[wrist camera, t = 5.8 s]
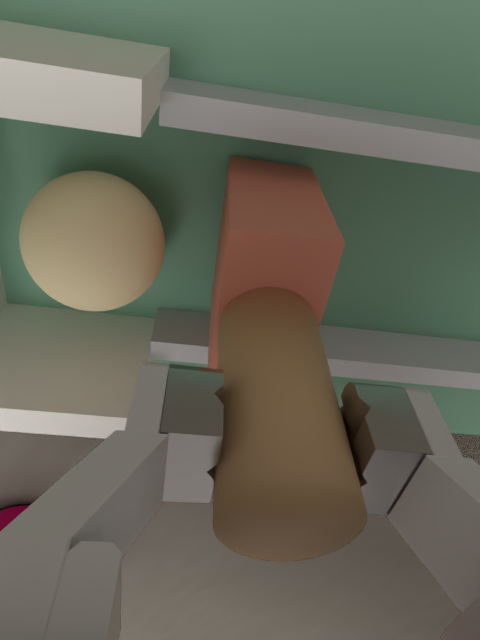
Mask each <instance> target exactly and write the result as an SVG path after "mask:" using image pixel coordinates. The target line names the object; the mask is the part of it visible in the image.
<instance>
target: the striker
mask: <svg viewBox="0 0 480 640" xmlns="http://www.w3.org/2000/svg"><path fill="white" fill-rule="evenodd" d="M344 246H345V241H344V239H343V236H342V234H341V232H340V230H339V228H338V225H337V223H336V221H335V219H334V216H333V214H332V212H331V210H330V208H329V205H328V203H327V201H326V199H325V197H324V194H323V192H322V190H321V188H320V186H319V183H318V181H317V179H316V177H315V175H314V172H313V170H312V168H311V167H305V166H298V165H291V164H284V163H277V162H270V161H263V160H255V159H248V158H241V157H234V156H229V163H228V170H227V178H226V186H225V194H224V201H223V209H222V217H221V225H220V232H219V240H218V248H217V256H216V263H215V271H214V279H213V286H212V294H211V311H210V330H209V349H208V368H213V369H222V370H223V372H224V386H223V392H222V397H221V402H222V403H223V404H224V416H223V440H222V446H221V451H220V456H219V462H218V464H217V465H216V466H215V481H214V495H213V530H214V532H215V535H216V536H217V538H218V539H219V540H220V541H221V542H222V543H223V544H224V545H225V546H226V547H228V548H229V549H231V550H233V551H234V552H236V553H239V554H241V555H244V556H247V557H250V558H255V559H259V560H266V561H298V560H306V559H311V558H315V557H319V556H323V555H326V554H329V553H331V552H334V551H336V550H338V549H340V548H342V547H344V546H345V545H347V544H348V543H350V542H351V541H352V540H354V539H355V538H356V537H357V536H358V535H359V534H360V533H361V531H362V530H363V528H364V526H365V524H366V521H367V509H366V506H365V502H364V498H363V494H362V490H361V487H360V483H359V479H358V475H357V471H356V468H355V464H354V460H353V456H352V452H351V449H350V445H349V441H348V437H347V434H346V430H345V426H344V422H343V418H342V415H341V411H340V407H339V403H338V399H337V396H336V392H335V388H334V384H333V380H332V377H331V373H330V369H329V365H328V361H327V358H326V354H325V350H324V346H323V342H322V339H321V335H320V331H319V326H320V323H321V320H322V317H323V314H324V310H325V307H326V304H327V301H328V297H329V294H330V291H331V288H332V285H333V281H334V278H335V275H336V272H337V268H338V265H339V262H340V259H341V256H342V252H343V249H344Z"/></svg>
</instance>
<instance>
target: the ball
mask: <svg viewBox="0 0 480 640" xmlns="http://www.w3.org/2000/svg"><path fill="white" fill-rule="evenodd" d="M19 243H20V250H21V255H22V259H23V261H24V264H25V266H26V268H27V270H28V272H29V274H30V275H31V277H32V279H33V280H34V281H35V283H36V284H37V285H38V286H39V287H40V288H41V289H42V290H43V291H44V292H45V293H46V294H48V295H49V296H50V297H51V298H53V299H55V300H56V301H58V302H60V303H62V304H64V305H66V306H69V307H72V308H75V309H79V310H84V311H107V310H112V309H116V308H119V307H122V306H124V305H127V304H129V303H131V302H132V301H134V300H136V299H137V298H138V297H140V296H141V295H142V294H143V293H144V292H145V291H146V290H147V289H148V288H149V287H150V286H151V285H152V283H153V282H154V280H155V279H156V277H157V275H158V273H159V271H160V268H161V266H162V262H163V258H164V251H165V238H164V231H163V227H162V224H161V220H160V218H159V216H158V214H157V212H156V210H155V208H154V206H153V205H152V203H151V202H150V201H149V200H148V198H147V197H146V196H145V195H144V194H143V193H142V192H141V191H140V190H139V189H138V188H137V187H135V186H134V185H132V184H131V183H129V182H128V181H126V180H124V179H122V178H120V177H117V176H115V175H112V174H109V173H105V172H99V171H78V172H72V173H68V174H65V175H62V176H60V177H57V178H55V179H53V180H52V181H50V182H48V183H47V184H46V185H45V186H43V187H42V188H41V189H40V190H39V191H38V192H37V193H36V194H35V195H34V196H33V197H32V199H31V200H30V202H29V203H28V205H27V207H26V209H25V212H24V214H23V216H22V220H21V224H20V233H19Z"/></svg>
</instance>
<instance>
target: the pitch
mask: <svg viewBox="0 0 480 640" xmlns="http://www.w3.org/2000/svg"><path fill="white" fill-rule="evenodd" d="M229 156H234V157H241V158H248V159H255V160H263V161H270V162H277V163H284V164H291V165H298V166H305V167H311V168H312V170H313V172H314V175H315V177H316V179H317V181H318V183H319V186H320V188H321V190H322V192H323V194H324V197H325V199H326V201H327V203H328V205H329V208H330V210H331V212H332V214H333V216H334V219H335V221H336V223H337V225H338V228H339V230H340V232H341V234H342V236H343V239H344V241H345V246H344V249H343V252H342V256H341V259H340V262H339V265H338V268H337V272H336V275H335V278H334V281H333V285H332V288H331V291H330V294H329V297H328V301H327V304H326V307H325V310H324V314H323V317H322V320H321V323H320V326H319V331H320V335H321V339H322V342H323V346H324V350H325V354H326V358H327V361H328V365H329V369H330V373H331V377H332V380H333V384H334V388H335V392H336V396H337V399H338V403H339V407H340V408H341V407H342V406H343V403H342V399H341V394H342V392H343V389H344V387H345V386H346V385H347V384H348V382H358V383H369V384H380V385H392V386H398V387H399V386H407V387H419V388H426V389H427V390H428V391H429V392H430V393H431V395H432V397H433V399H434V401H435V403H436V405H437V407H438V409H439V411H440V413H441V414H442V416H443V418H444V420H445V422H446V424H447V426H448V428H449V430H450V432H451V433H457V434H469V435H480V0H0V431H11V432H24V433H37V434H51V435H64V436H77V437H90V438H104V439H106V438H107V437H108V436H110V435H111V434H112V433H113V432H114V431H115V430H124V431H125V426H126V422H127V418H128V413H129V409H130V404H131V400H132V395H133V391H134V386H135V382H136V378H137V373H138V369H139V365H140V363H141V362H142V360H143V361H151V362H159V363H167V364H169V367H170V363H172V364H180V365H188V366H197V367H205V368H208V349H209V330H210V311H211V294H212V286H213V279H214V271H215V263H216V256H217V248H218V240H219V232H220V225H221V217H222V209H223V201H224V194H225V186H226V178H227V170H228V163H229ZM78 171H99V172H105V173H109V174H112V175H115V176H117V177H120V178H122V179H124V180H126V181H128V182H129V183H131V184H132V185H134V186H135V187H137V188H138V189H139V190H140V191H141V192H142V193H143V194H144V195H145V196H146V197H147V198H148V200H149V201H150V202H151V203H152V205H153V206H154V208H155V210H156V212H157V214H158V216H159V218H160V220H161V224H162V227H163V231H164V238H165V251H164V258H163V262H162V266H161V268H160V271H159V273H158V275H157V277H156V279H155V280H154V282H153V283H152V285H151V286H150V287H149V288H148V289H147V290H146V291H145V292H144V293H143V294H142V295H141V296H140V297H138V298H137V299H136V300H134V301H132V302H131V303H129V304H127V305H124V306H122V307H119V308H116V309H112V310H107V311H84V310H79V309H75V308H72V307H69V306H66V305H64V304H62V303H60V302H58V301H56V300H55V299H53V298H51V297H50V296H49V295H48V294H46V293H45V292H44V291H43V290H42V289H41V288H40V287H39V286H38V285H37V284H36V283H35V281H34V280H33V279H32V277H31V275H30V274H29V272H28V270H27V268H26V266H25V264H24V261H23V259H22V255H21V250H20V243H19V233H20V224H21V220H22V216H23V214H24V212H25V209H26V207H27V205H28V203H29V202H30V200H31V199H32V197H33V196H34V195H35V194H36V193H37V192H38V191H39V190H40V189H41V188H42V187H43V186H45V185H46V184H47V183H48V182H50V181H52V180H53V179H55V178H57V177H60V176H62V175H65V174H68V173H72V172H78Z"/></svg>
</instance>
